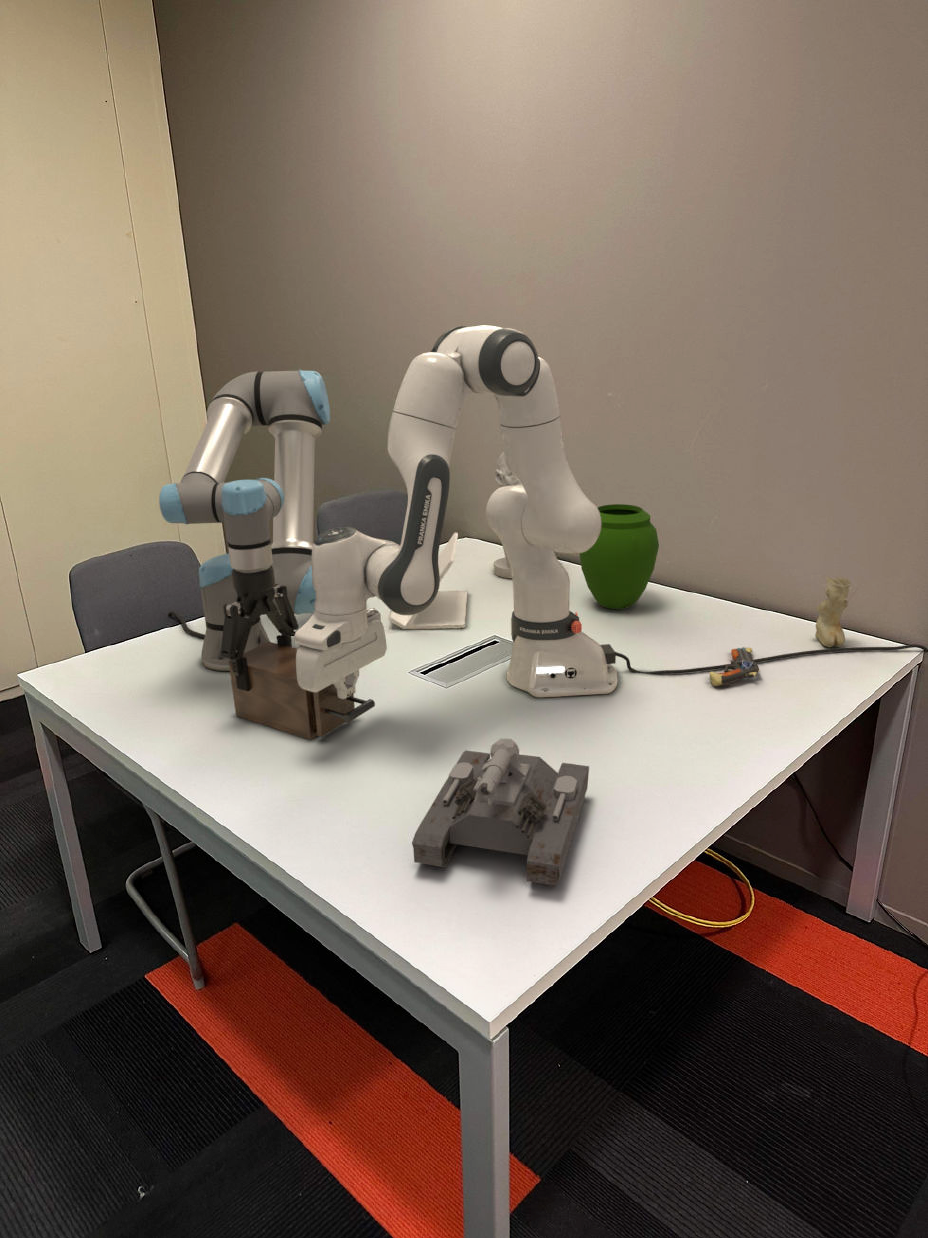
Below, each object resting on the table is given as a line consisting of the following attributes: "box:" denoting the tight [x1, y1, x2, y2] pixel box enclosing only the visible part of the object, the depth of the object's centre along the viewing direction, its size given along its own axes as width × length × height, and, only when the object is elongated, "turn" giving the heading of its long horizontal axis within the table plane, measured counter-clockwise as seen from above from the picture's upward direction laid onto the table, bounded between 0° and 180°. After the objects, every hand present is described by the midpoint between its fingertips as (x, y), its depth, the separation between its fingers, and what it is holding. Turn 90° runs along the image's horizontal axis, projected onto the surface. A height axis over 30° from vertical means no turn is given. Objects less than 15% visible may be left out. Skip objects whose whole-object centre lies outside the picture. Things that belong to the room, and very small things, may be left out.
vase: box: [578, 503, 660, 610], centre depth 210 cm, size 20×20×24 cm
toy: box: [411, 737, 590, 886], centre depth 122 cm, size 25×20×15 cm
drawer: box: [310, 676, 376, 738], centre depth 157 cm, size 24×9×10 cm, turn 57°
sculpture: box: [814, 576, 852, 648], centre depth 185 cm, size 6×7×15 cm
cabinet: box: [228, 641, 319, 741], centre depth 160 cm, size 19×10×12 cm, turn 57°
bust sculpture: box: [493, 451, 522, 579], centre depth 231 cm, size 16×24×35 cm
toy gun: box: [709, 646, 761, 687], centre depth 175 cm, size 3×19×10 cm
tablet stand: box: [388, 531, 468, 630], centre depth 211 cm, size 18×25×17 cm
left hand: (265, 678), depth 163 cm, fingers closed on cabinet, 10 cm apart
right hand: (346, 695), depth 151 cm, fingers closed
